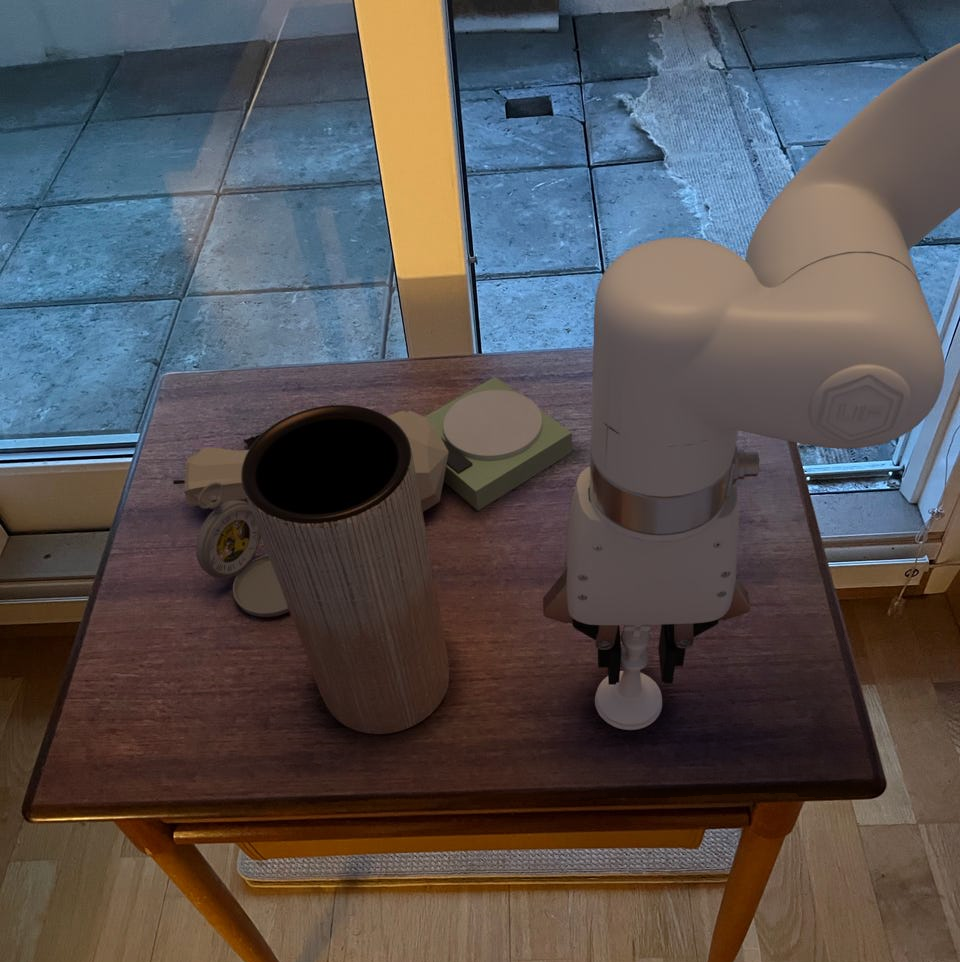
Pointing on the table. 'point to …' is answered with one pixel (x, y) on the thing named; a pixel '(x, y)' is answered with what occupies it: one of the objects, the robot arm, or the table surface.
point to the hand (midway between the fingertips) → (638, 665)
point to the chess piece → (631, 685)
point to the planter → (352, 561)
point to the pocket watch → (238, 556)
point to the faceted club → (228, 463)
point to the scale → (496, 441)
